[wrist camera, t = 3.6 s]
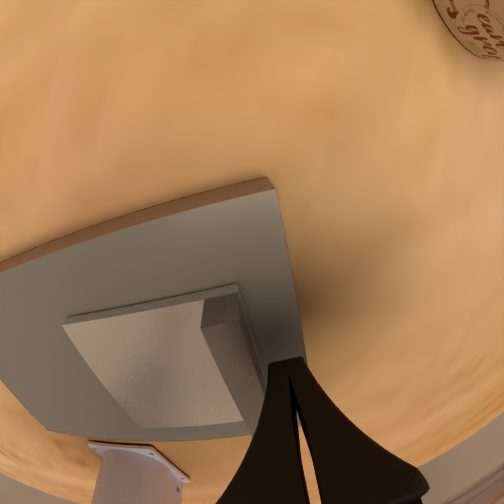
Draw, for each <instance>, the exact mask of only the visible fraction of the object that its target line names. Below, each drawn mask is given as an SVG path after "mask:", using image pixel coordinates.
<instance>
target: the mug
mask: <svg viewBox="0 0 504 504" xmlns="http://www.w3.org/2000/svg"><path fill="white" fill-rule="evenodd" d="M434 3H435V5H436V8H437V10H438V12H439V14H440V15H441V17H442V19H443V21H444V22H445V24H446V25H447V27H448V28H449V30H450V31H451V32H452V34H453V35H454V36H455V37H456V38H457V40H458V41H459V42H460V43H461V44H462V45H463V46H464V47H465V48H466V49H468V50H469V51H470V52H472V53H473V54H475V55H476V56H478V57H480V58H483V59H488V60H497V61H504V0H434Z"/></svg>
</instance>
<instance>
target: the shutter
mask: <svg viewBox="0 0 504 504" xmlns="http://www.w3.org/2000/svg"><path fill="white" fill-rule="evenodd" d="M62 327H63V328H64V330H65V331H66V333H67V335H68V336H69V338H70V339H71V341H72V342H73V344H74V345H75V347H76V348H77V350H78V351H79V353H80V354H81V356H82V357H83V358H84V360H85V361H86V363H87V364H88V365H89V367H90V368H91V370H92V371H93V372H94V374H95V375H96V376H97V378H98V379H99V380H100V381H101V383H102V384H103V385H104V387H105V388H106V389H107V390H108V391H109V393H110V394H111V395H112V396H113V398H114V399H115V400H116V401H117V402H118V403H119V405H120V406H121V407H122V408H123V409H124V410H125V411H126V413H127V414H128V415H129V416H130V417H131V418H132V419H133V420H134V421H135V422H136V424H137V425H138V426H139V427H140V428H169V427H189V426H202V425H213V424H222V423H230V422H238V421H244V422H245V423H246V425H247V427H248V429H249V431H250V433H251V435H252V437H253V436H254V433H255V430H256V427H257V424H258V420H259V417H260V414H261V410H262V406H263V401H264V397H265V392H266V386H267V378H266V375H265V372H264V369H263V366H262V362H261V359H260V356H259V353H258V350H257V346H256V343H255V340H254V337H253V333H252V330H251V327H250V323H249V320H248V317H247V314H246V310H245V307H244V304H243V300H242V297H241V294H240V290H239V287H238V283H236V284H232V285H227V286H223V287H218V288H214V289H209V290H205V291H200V292H195V293H191V294H186V295H181V296H176V297H171V298H167V299H162V300H157V301H152V302H147V303H142V304H137V305H131V306H126V307H121V308H116V309H111V310H105V311H100V312H94V313H89V314H83V315H78V316H72V317H67V318H66V320H65V321H64V323H63V324H62Z"/></svg>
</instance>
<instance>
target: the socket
mask: <svg viewBox="0 0 504 504" xmlns="http://www.w3.org/2000/svg"><path fill="white" fill-rule="evenodd" d="M236 283H238V287H239V290H240V294H241V297H242V300H243V304H244V307H245V310H246V314H247V317H248V320H249V323H250V327H251V330H252V333H253V337H254V340H255V343H256V346H257V350H258V353H259V356H260V359H261V362H262V366H263V369H264V372H265V375H266V378H267V377H268V365H269V364H270V363H272V362H277V361H281V360H286V359H290V358H294V357H298V356H301V357H303V358H304V360H305V362H306V364H307V359H306V353H305V346H304V340H303V334H302V328H301V322H300V316H299V310H298V304H297V298H296V292H295V287H294V281H293V276H292V270H291V265H290V259H289V254H288V249H287V243H286V238H285V233H284V228H283V223H282V218H281V213H280V208H279V203H278V198H277V194H276V189H275V187H274V186H273V185H272V183H271V182H270V181H269V179H268V178H267V177H264V178H259V179H255V180H251V181H246V182H242V183H238V184H234V185H230V186H226V187H222V188H218V189H214V190H210V191H206V192H202V193H199V194H195V195H191V196H188V197H184V198H181V199H177V200H173V201H170V202H167V203H163V204H160V205H156V206H153V207H150V208H147V209H143V210H140V211H137V212H134V213H131V214H127V215H124V216H121V217H118V218H115V219H112V220H109V221H106V222H103V223H100V224H97V225H95V226H92V227H89V228H86V229H83V230H80V231H78V232H75V233H72V234H70V235H67V236H64V237H62V238H59V239H56V240H54V241H51V242H49V243H46V244H44V245H41V246H39V247H36V248H34V249H31V250H29V251H26V252H24V253H22V254H19V255H17V256H15V257H12V258H10V259H8V260H5V261H3V262H1V263H0V379H1V381H2V382H3V383H4V384H5V385H6V387H7V388H8V389H9V390H10V391H11V393H12V394H13V395H14V396H15V397H16V398H17V399H18V400H19V402H20V403H21V404H22V405H23V406H24V407H25V408H26V409H27V410H28V411H29V412H30V413H31V414H32V415H33V416H34V417H35V418H36V419H37V420H38V421H39V422H40V423H41V424H42V425H43V426H44V427H45V428H46V429H47V430H48V431H53V432H59V433H64V434H70V435H77V436H84V437H92V438H101V439H112V440H127V441H194V440H209V439H220V438H230V437H238V436H246V435H251V433H250V431H249V429H248V427H247V425H246V423H245V422H244V421H238V422H230V423H222V424H213V425H202V426H189V427H169V428H140V427H139V426H138V425H137V424H136V422H135V421H134V420H133V419H132V418H131V417H130V416H129V415H128V414H127V413H126V411H125V410H124V409H123V408H122V407H121V406H120V405H119V403H118V402H117V401H116V400H115V399H114V398H113V396H112V395H111V394H110V393H109V391H108V390H107V389H106V388H105V387H104V385H103V384H102V383H101V381H100V380H99V379H98V378H97V376H96V375H95V374H94V372H93V371H92V370H91V368H90V367H89V365H88V364H87V363H86V361H85V360H84V358H83V357H82V356H81V354H80V353H79V351H78V350H77V348H76V347H75V345H74V344H73V342H72V341H71V339H70V338H69V336H68V335H67V333H66V331H65V330H64V328H63V327H62V324H63V323H64V321H65V320H66V318H67V317H72V316H78V315H83V314H89V313H94V312H100V311H105V310H111V309H116V308H121V307H126V306H131V305H137V304H142V303H147V302H152V301H157V300H162V299H167V298H171V297H176V296H181V295H186V294H191V293H195V292H200V291H205V290H209V289H214V288H218V287H223V286H227V285H232V284H236ZM297 421H298V426H301V423H300V420H299V417H298V414H297Z"/></svg>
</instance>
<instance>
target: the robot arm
mask: <svg viewBox="0 0 504 504" xmlns="http://www.w3.org/2000/svg"><path fill="white" fill-rule="evenodd" d="M297 414H298V417H299V420H300V423H301V426H302V429H303V432H304V435H305V438H306V441H307V444H308V447H309V451H310V454H311V457H312V461H313V465H314V470H315V475H316V480H317V484H318V489H319V494H320V499H321V504H423V503H422V500H421V497H422V496H423V495H424V494H425V493H427V492H428V490H429V489H430V488H429V485H428V483H427V481H426V479H425V478H424V476H423V475H422V474H421V472H420V471H419V470H418V469H417V468H416V467H415V466H413V465H411V464H409V463H407V462H405V461H403V460H402V459H400V458H398V457H397V456H395V455H393V454H392V453H390V452H389V451H387V450H386V449H384V448H383V447H382V446H380V445H379V444H377V443H376V442H375V441H373V440H372V439H371V438H370V437H368V436H367V435H366V434H365V433H363V432H362V431H361V430H360V429H359V428H358V427H356V426H355V425H354V424H353V423H352V422H351V421H350V420H349V419H348V418H347V417H346V416H345V415H344V414H343V413H342V412H341V411H340V410H339V408H338V407H337V406H336V405H335V404H334V403H333V402H332V400H331V399H330V398H329V397H328V396H327V394H326V393H325V392H324V390H323V389H322V388H321V386H320V385H319V384H318V382H317V381H316V379H315V378H314V376H313V375H312V373H311V371H310V370H309V368H308V366H307V364H306V362H305V360H304V358H303V357H301V356H298V357H294V358H290V359H286V360H281V361H277V362H272V363H270V364H269V365H268V377H267V386H266V392H265V397H264V401H263V406H262V410H261V414H260V417H259V420H258V424H257V427H256V430H255V433H254V436H253V438H252V441H251V443H250V446H249V448H248V450H247V452H246V455H245V457H244V459H243V461H242V463H241V465H240V467H239V469H238V470H237V472H236V474H235V476H234V477H233V479H232V481H231V482H230V484H229V485H228V487H227V489H226V490H225V492H224V493H223V495H222V496H221V497H220V499H219V500H218V501H217V502H216V504H310V501H309V496H308V491H307V486H306V481H305V476H304V471H303V466H302V459H301V451H300V441H299V431H298V421H297ZM87 445H88V446H89V447H90V448H91V449H92V450H94V451H95V452H96V453H97V454H98V455H100V456H101V457H102V460H101V464H100V468H99V472H98V477H97V481H96V485H95V490H94V495H93V499H92V504H182V488H183V483H189V482H190V481H191V479H190V478H188V477H187V476H186V475H185V474H183V473H182V472H181V471H180V470H178V469H177V468H176V467H175V466H174V465H172V464H171V463H170V462H169V461H168V460H167V459H165V458H164V457H163V456H162V455H161V454H160V453H159V452H158V451H156V450H155V449H154V448H153V447H150V446H136V445H120V444H108V443H99V442H91V441H88V443H87ZM440 504H504V462H502V463H501V464H500V465H498V466H497V467H496V468H494V469H493V470H492V471H491V472H489V473H488V474H487V475H485V476H484V477H482V478H481V479H479V480H478V481H476V482H475V483H473V484H472V485H470V486H469V487H467V488H466V489H464V490H462V491H461V492H459V493H457V494H456V495H454V496H452V497H451V498H449V499H447V500H445V501H444V502H442V503H440Z"/></svg>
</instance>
